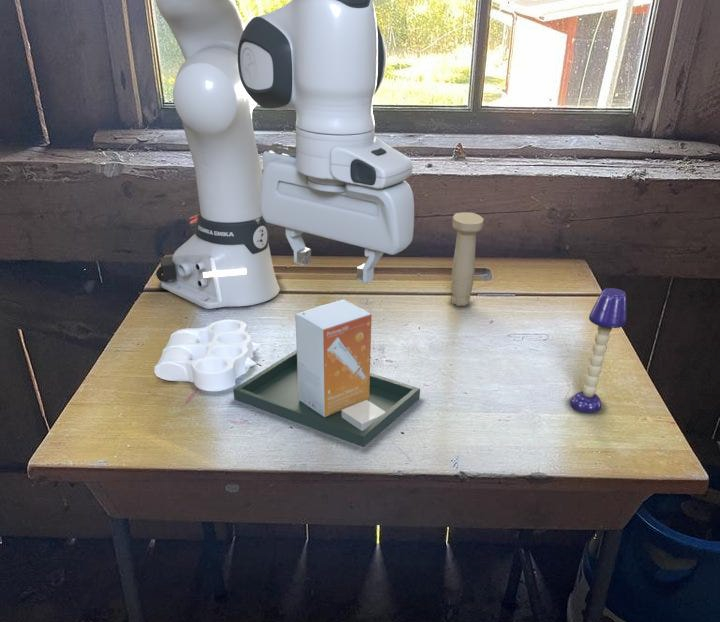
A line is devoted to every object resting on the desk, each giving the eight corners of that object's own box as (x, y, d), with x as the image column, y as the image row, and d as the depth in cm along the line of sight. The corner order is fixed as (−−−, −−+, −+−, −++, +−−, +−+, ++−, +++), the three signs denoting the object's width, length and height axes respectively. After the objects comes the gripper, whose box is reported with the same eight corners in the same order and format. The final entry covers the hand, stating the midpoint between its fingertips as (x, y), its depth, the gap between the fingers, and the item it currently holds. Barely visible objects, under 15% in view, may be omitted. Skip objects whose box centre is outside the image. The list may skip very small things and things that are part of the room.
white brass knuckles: (177, 337, 118) (267, 338, 118) (150, 393, 104) (253, 394, 103) (174, 318, 116) (265, 319, 116) (146, 372, 102) (251, 373, 101)
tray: (234, 402, 102) (232, 389, 100) (297, 361, 112) (296, 349, 110) (363, 450, 92) (363, 436, 91) (419, 401, 102) (420, 388, 101)
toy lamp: (577, 393, 104) (601, 281, 94) (609, 402, 102) (637, 289, 92) (565, 407, 101) (589, 293, 91) (598, 417, 99) (626, 302, 89)
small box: (324, 419, 97) (322, 329, 90) (297, 400, 101) (293, 312, 93) (371, 400, 101) (372, 312, 94) (343, 382, 105) (342, 297, 98)
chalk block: (341, 417, 98) (341, 409, 97) (366, 406, 100) (366, 399, 99) (361, 431, 95) (361, 423, 94) (387, 420, 97) (387, 412, 96)
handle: (450, 310, 127) (457, 224, 118) (443, 296, 132) (450, 212, 123) (477, 310, 128) (486, 223, 119) (469, 295, 133) (478, 212, 124)
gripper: (246, 144, 85) (252, 260, 93) (397, 175, 76) (389, 300, 85) (279, 135, 89) (282, 247, 97) (425, 164, 81) (415, 283, 89)
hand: (332, 272), depth 91 cm, fingers open, 8 cm apart
